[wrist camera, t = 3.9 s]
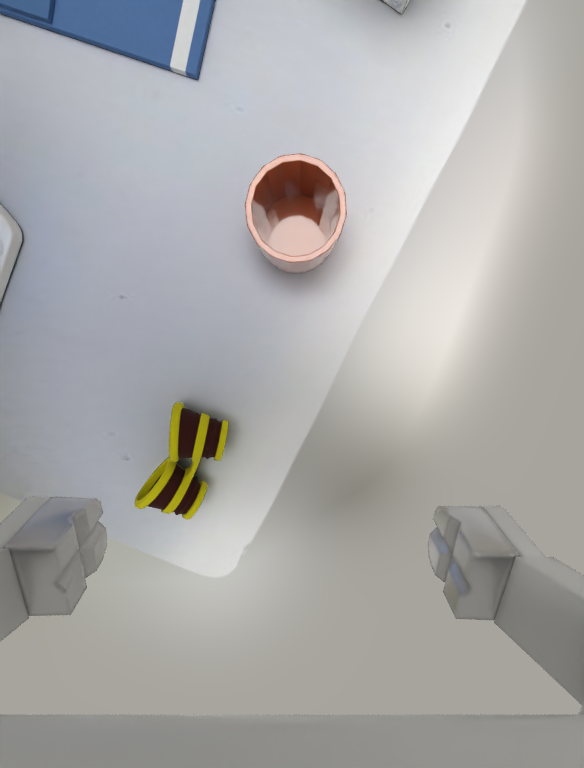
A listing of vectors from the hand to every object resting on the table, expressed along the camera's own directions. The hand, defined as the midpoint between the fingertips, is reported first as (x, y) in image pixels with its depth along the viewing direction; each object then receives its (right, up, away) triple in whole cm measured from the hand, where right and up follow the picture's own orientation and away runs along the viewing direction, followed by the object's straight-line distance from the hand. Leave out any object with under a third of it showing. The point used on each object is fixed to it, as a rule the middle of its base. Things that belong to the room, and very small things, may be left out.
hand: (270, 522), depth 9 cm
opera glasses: (-9, -3, +25) cm, 26 cm away
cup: (+1, +16, +21) cm, 26 cm away
